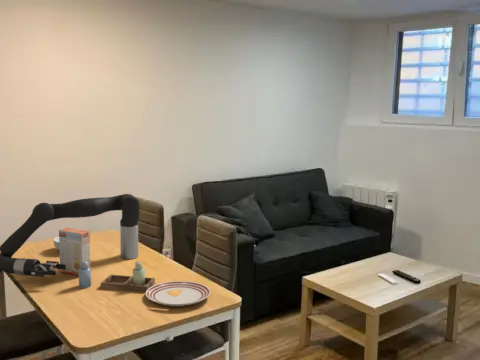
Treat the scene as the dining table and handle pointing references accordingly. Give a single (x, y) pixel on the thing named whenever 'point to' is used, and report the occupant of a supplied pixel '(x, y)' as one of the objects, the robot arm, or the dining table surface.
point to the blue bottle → (84, 275)
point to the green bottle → (138, 274)
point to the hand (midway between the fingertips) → (60, 270)
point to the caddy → (126, 283)
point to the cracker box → (74, 249)
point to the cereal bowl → (56, 242)
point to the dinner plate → (187, 297)
